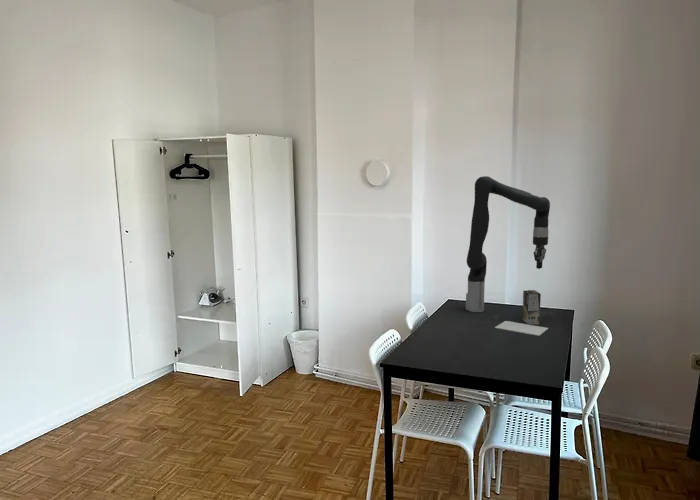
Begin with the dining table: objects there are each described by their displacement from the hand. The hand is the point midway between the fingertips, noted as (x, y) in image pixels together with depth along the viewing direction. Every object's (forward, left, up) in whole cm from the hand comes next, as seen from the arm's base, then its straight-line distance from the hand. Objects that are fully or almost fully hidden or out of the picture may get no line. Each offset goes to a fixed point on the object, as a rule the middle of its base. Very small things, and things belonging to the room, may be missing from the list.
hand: (539, 268), depth 277 cm
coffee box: (0, -10, -27) cm, 29 cm away
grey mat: (0, -24, -27) cm, 36 cm away
